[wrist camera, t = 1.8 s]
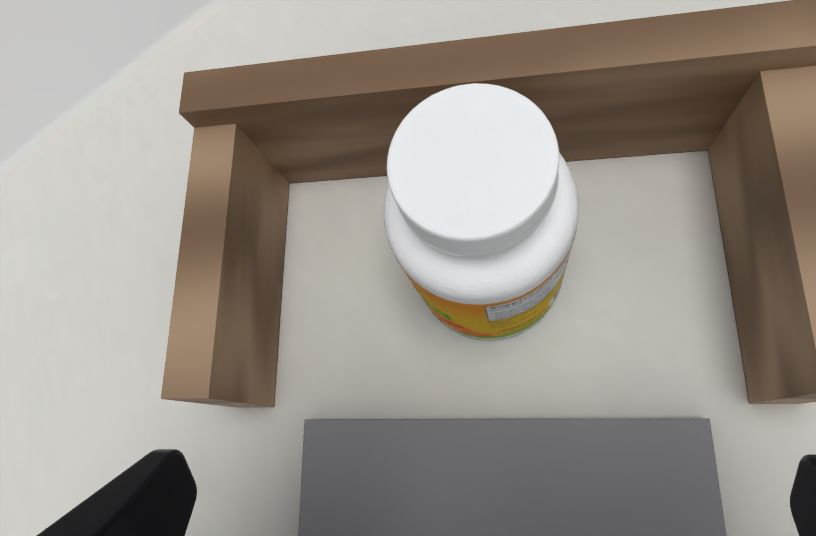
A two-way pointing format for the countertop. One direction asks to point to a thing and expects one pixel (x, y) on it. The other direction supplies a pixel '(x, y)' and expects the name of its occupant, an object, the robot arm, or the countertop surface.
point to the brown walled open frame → (577, 140)
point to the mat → (509, 478)
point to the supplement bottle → (481, 209)
